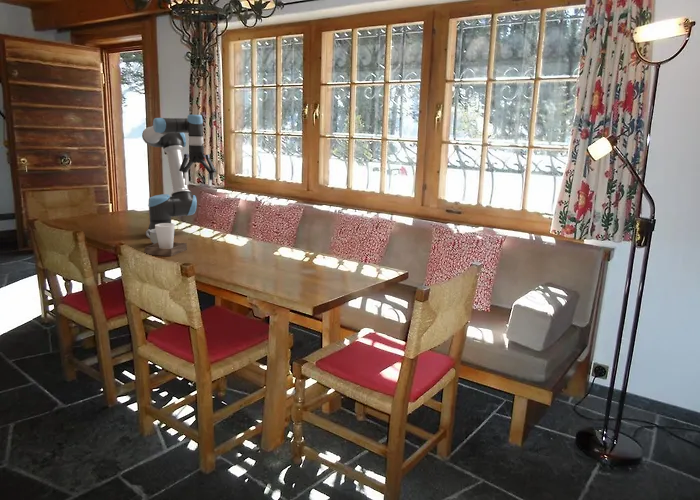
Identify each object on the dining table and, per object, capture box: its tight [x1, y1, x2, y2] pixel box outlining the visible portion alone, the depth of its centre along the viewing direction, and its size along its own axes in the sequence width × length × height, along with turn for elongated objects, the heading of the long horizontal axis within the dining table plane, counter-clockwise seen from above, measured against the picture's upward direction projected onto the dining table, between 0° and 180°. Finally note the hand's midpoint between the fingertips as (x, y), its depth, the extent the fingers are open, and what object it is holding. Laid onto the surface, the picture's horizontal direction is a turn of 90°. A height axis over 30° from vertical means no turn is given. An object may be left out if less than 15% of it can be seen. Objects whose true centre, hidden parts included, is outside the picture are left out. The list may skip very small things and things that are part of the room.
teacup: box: [145, 229, 158, 244], centre depth 290 cm, size 14×11×8 cm
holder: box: [144, 241, 188, 257], centre depth 274 cm, size 15×15×4 cm
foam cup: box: [155, 222, 176, 249], centre depth 272 cm, size 10×9×13 cm
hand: (198, 185), depth 287 cm, fingers open, 13 cm apart
